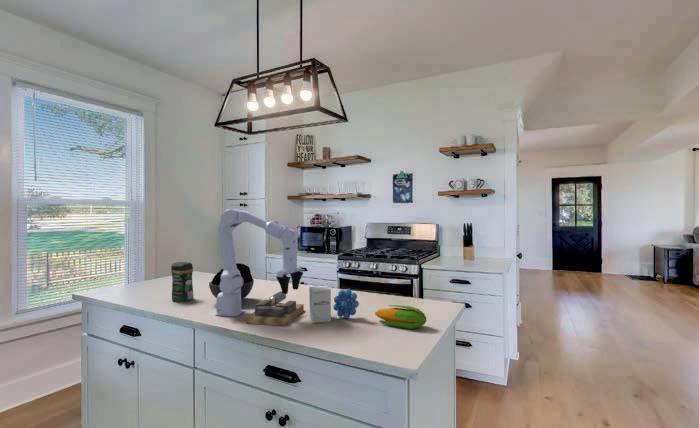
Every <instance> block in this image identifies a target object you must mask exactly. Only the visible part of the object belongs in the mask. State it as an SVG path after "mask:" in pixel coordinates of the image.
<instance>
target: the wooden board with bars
mask: <svg viewBox="0 0 699 428" xmlns="http://www.w3.org/2000/svg"><path fill="white" fill-rule="evenodd" d="M304 305H305V304H304V303H303V304H302V303H297V301H296V300H288V301H287V302H279V303H278V304H276V305H273V306H272V300H269V299H264V300H262V301H259V302H258V303H257V304H255V307H254V311H253V312H250V314H248V315H246V316H245V323H246V324H254V325H255V324H256V325H268V326H269V325H271V326H283V327H284V326H286V325H288V324H289V323H290V322H292V321H293V319H294V318H296V317H297V316H298V315H300V313H302V312H303V311H304V309H305V308H304V307H305V306H304Z"/></svg>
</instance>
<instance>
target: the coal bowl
mask: <svg viewBox="0 0 699 428" xmlns="http://www.w3.org/2000/svg"><path fill="white" fill-rule="evenodd" d="M236 266H237V269H238V270H239V271H240V275H241V277H242V278H243V281H244V283H243V286H242V287H241V301H242V300H244V299H246V298H247V296H249V294H250V293H251V292H252V289H253V286H254V282H255V280H254V279H253V276H252V273H251V268H250V266H249V265H247V264H245V263H241V262H236ZM222 273H223V268H221V269H220V270H219V271H218V272H217V273H216V274H214V276H213V278H212V280H211V281H209V283H208V288H209V291H210V293H211V294H212V296H213V297H214V298H215V299H217V296H218V294H219V293H220V292H222V291H221V290H220V282H221V275H222Z"/></svg>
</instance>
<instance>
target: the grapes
mask: <svg viewBox="0 0 699 428" xmlns="http://www.w3.org/2000/svg"><path fill="white" fill-rule="evenodd" d="M337 293H338V294H336V295H335V296H334V299H333V300H334V301H333V302H334V305H333V310H334V311H337V312H336V313H337V315H336V316H338V317H340V318H342V317H343V318H344V319H345V320H346V319H349V318H350V317H351V316H354V315H356V312H357V309H356V308H358V307H359V305H360V302H359V301H358V300H357V298H358V295H357V293H356V292H352V289H351V288H346V289H345V290H344V289H340V290H339V291H338V292H337Z"/></svg>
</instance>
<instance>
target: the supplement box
mask: <svg viewBox="0 0 699 428" xmlns="http://www.w3.org/2000/svg"><path fill="white" fill-rule="evenodd" d="M308 288H309V296H308V297H309V319H310V320H311V322H312V324H315V323H316V324H317V323H326V322H327V323H328V322H332V308H331V307H332V303H331V302H332V301H331V299H332V295H331V294H332V293H331V292H332V291H331V288H330V287H329V285H320V286H309V287H308Z"/></svg>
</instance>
